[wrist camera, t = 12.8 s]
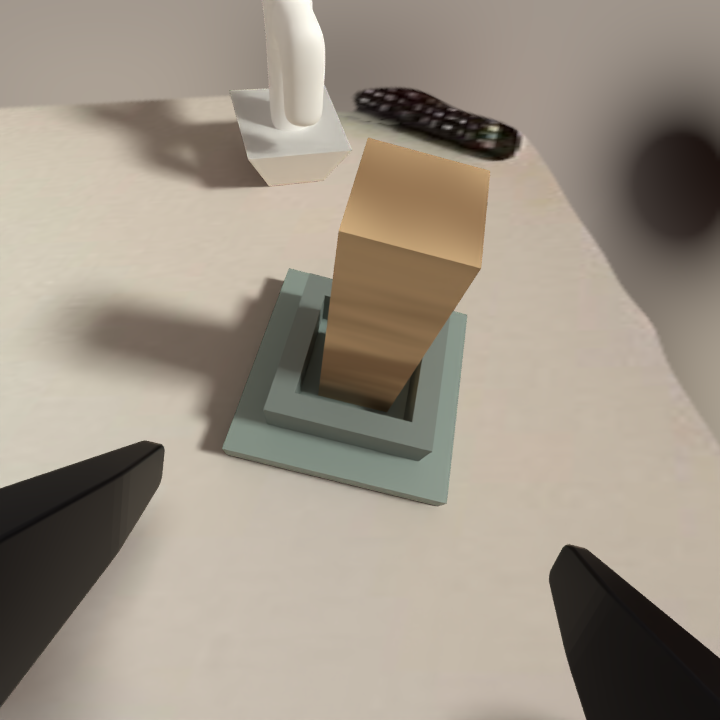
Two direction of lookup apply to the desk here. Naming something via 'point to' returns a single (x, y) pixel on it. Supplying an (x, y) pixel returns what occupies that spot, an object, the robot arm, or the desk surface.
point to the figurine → (291, 102)
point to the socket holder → (346, 406)
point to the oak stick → (399, 268)
